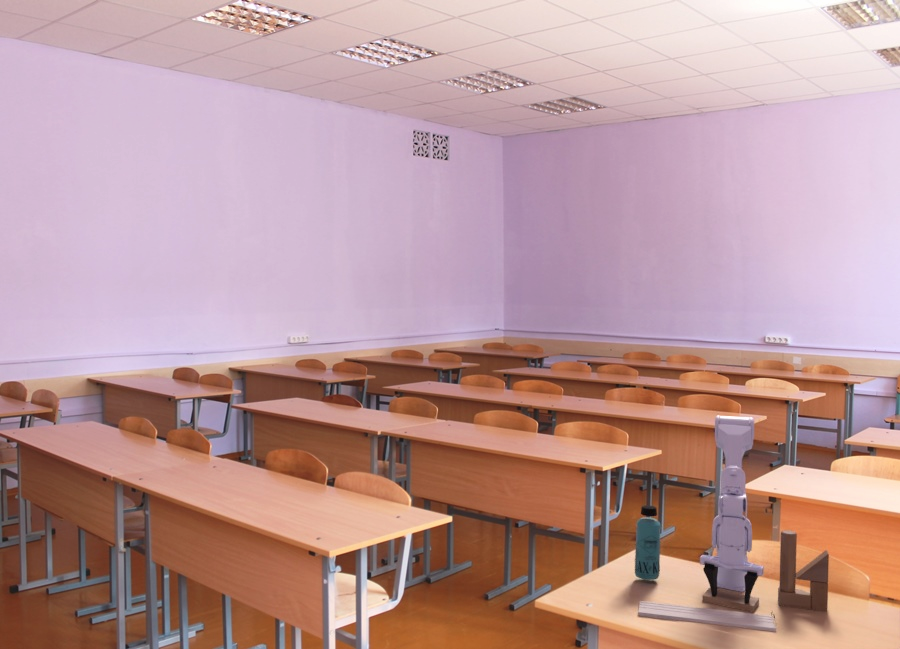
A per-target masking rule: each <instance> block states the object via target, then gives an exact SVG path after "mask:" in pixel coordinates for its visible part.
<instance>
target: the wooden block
mask: <svg viewBox="0 0 900 649" xmlns="http://www.w3.org/2000/svg"><path fill="white" fill-rule="evenodd" d="M797 538H798V536H797V532H795V531H793V530H787V529H785V530H781V532H780V552H779V553H780V556H779V557H780V558H779V587H778V588H777V589H778V591H777V603H778V606H780V607H786V608H787V607H788V608H794V609H795V608H796V609H804V610H811V611H817V612H824V613H826V612H828V600H829V564H830V563H829V562H830V554H829V552H828V549H826V550H824V551H823V552H822V553H820V554H819V555H818V556H817V557H815V558H814V559H812V560H811V561H809V563H808V564H806V565H805V566H804V567H802V568H801V569H800V570H798V571H797V542H798V541H797V540H798V539H797ZM797 580H798V581H799V580H802V581H809V592H808V591H805V590H803V589H798V588H797V589H796V586H797V585H796V581H797Z"/></svg>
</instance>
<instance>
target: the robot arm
mask: <svg viewBox="0 0 900 649" xmlns="http://www.w3.org/2000/svg"><path fill="white" fill-rule="evenodd" d="M714 437H715V439H714V440H715V441H714V442H715V444H716V448H719V449H720V450H722V452H723V454H724V458H725V461H724V462H725V465H724V466H725V467H724V468H723V469H722V470H721V472H720V473H721V476H720V477H721V478H720V495H718V504H717V507H718V510H717V512H718V513H717V514H718V515H716V516H715V517H714V519H713V520H712V526H711V527H712V530H711V546H712V547H713V549H716V555H707V554H702V555H701V556H700V557H699V565H701V566H703V569H702V570H703V573H704V575H705V576H706V579H707V581H708V584H709V588H711V593H712V596H713V597H715V596H716V595H717V590H718V588H720V589H725V590H726V589H727V590H730V591H735V592H739V593H744V595H745V598H744V602H745V603H746V604H748V603H749V600H750V596H751V594H752V591H753V588H754V586H755V584H756V581H758V579H759V577H763V575H764V571H765V570H764V569H765V568H764V567H765V566H763V565H760V564H755V563H753V562H749V560H748V559H749V557H748V555H747V554H748V553H750V552H751V551H753V550H752V549H753V529H752V523H751V521H750V519H749V518H747V517H748V499H747V491H746V472H745V470H743V469H742V468H743V458H744V455H745V452H748V451H749V450H752V449H753V446H754V439H755V418H753V416H750V417H749V416H729V415H719V414H718V415H716V416H715V417H714ZM743 513H744V514H743Z"/></svg>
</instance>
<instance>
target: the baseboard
mask: <svg viewBox="0 0 900 649" xmlns="http://www.w3.org/2000/svg"><path fill="white" fill-rule="evenodd" d="M637 613H638V614H637V615H638V617H645V616H646V617H645V618H655V619H661V618H662V619H661V620H663V619H664V620H669V621H670V620H672V621H686V622H694V623H703V624H711V625H718V626H719V625H720V626H726V627H736V628H745V629H752V630H760V631H769V632H777V625H776V624H777V623H776V621H775V619H776V617H775V614H774V612H773V611H771V612H770V614H771V615H768V614H767V615H766V614H758V613H752V612H751V613H750V612H742V611H741V612H740V611H733V610H723V609H716V608H715V609H714V608H707V607H698V606H691V605H690V606H689V605H680V604H670V603H663V602H662V603H661V602H653V601H646V600H645V601H644V600H639V605H638V611H637Z"/></svg>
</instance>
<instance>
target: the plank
mask: <svg viewBox="0 0 900 649" xmlns="http://www.w3.org/2000/svg"><path fill="white" fill-rule="evenodd" d="M707 588H708V589H706V591H705V592H704V593H703V594H702V602H704V603H708V604H709V603H710V604H714V605H718V606H723V607H727V608H732V609H736V610H740V611H741V610H742V611H745V612H749V613H750V612H751V613H754V612H755V611H756V609H757V608H758V606H759V605H760V597H756V596H751V595H750V600H749V603H748V604H746V603H745V602H744V598H745V594H741V593H736V592H732V591H726V590H721V589H717V595H716V596H715V597H713V596H712V593H711V588H710V587H707Z"/></svg>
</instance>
